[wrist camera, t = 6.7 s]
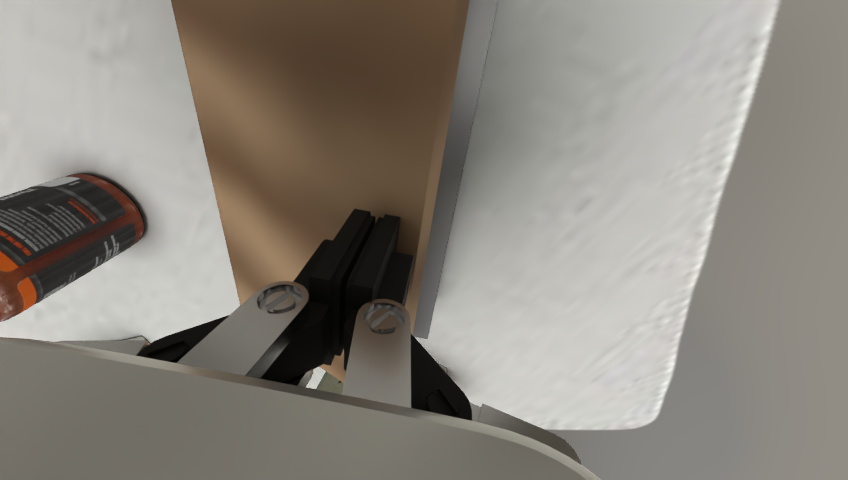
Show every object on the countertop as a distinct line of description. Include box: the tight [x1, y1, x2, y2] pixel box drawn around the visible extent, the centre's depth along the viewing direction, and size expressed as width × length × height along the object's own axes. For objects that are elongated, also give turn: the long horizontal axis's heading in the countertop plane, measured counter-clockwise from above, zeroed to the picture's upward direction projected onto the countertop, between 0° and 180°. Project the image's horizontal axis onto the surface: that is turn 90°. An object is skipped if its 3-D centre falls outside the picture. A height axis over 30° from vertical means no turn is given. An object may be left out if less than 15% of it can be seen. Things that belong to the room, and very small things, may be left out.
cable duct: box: [413, 0, 498, 339], centre depth 18 cm, size 20×12×4 cm, turn 173°
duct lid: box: [171, 0, 470, 383], centre depth 14 cm, size 20×12×1 cm, turn 173°
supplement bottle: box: [0, 174, 144, 322], centre depth 19 cm, size 6×6×11 cm
